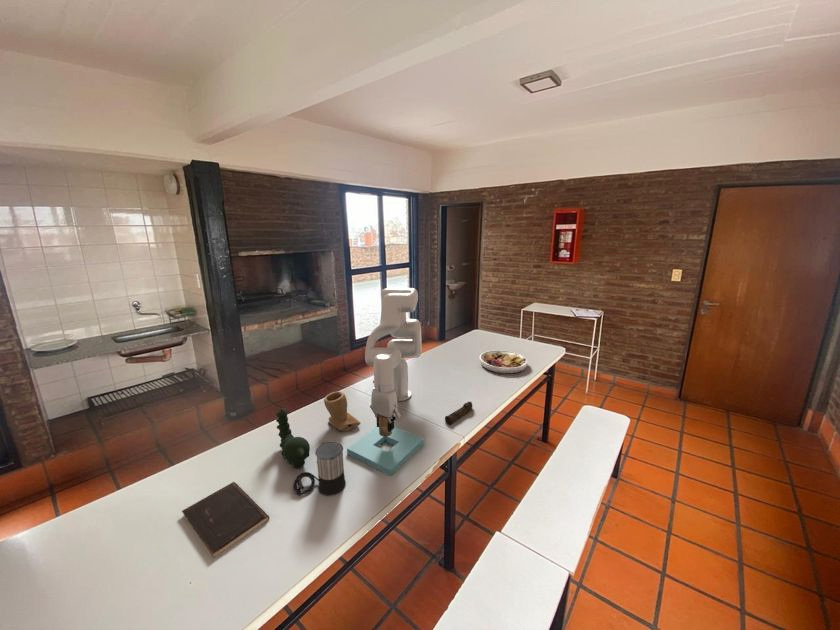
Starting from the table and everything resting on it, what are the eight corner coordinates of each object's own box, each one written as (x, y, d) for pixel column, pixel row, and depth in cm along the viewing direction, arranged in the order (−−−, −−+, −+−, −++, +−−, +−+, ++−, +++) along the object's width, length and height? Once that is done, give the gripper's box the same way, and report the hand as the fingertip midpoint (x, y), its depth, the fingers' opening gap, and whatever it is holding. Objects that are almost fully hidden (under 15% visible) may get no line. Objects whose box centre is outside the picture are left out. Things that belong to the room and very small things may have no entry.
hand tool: (450, 426, 150) (451, 417, 149) (444, 422, 153) (444, 413, 152) (476, 411, 163) (476, 402, 162) (470, 407, 166) (470, 399, 165)
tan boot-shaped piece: (321, 422, 154) (319, 392, 150) (345, 413, 161) (343, 384, 157) (337, 437, 142) (334, 406, 138) (361, 427, 150) (359, 397, 146)
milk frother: (351, 486, 115) (348, 449, 112) (307, 512, 105) (303, 473, 101) (330, 465, 126) (327, 431, 122) (289, 487, 115) (284, 450, 111)
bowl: (490, 353, 236) (491, 343, 234) (533, 363, 219) (534, 352, 217) (471, 367, 213) (471, 356, 211) (517, 380, 196) (517, 367, 194)
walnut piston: (376, 433, 132) (376, 415, 130) (384, 427, 136) (384, 410, 134) (386, 438, 129) (385, 419, 127) (394, 431, 133) (393, 413, 131)
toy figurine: (273, 450, 137) (292, 481, 117) (267, 408, 133) (285, 432, 113) (296, 442, 142) (318, 470, 122) (291, 400, 139) (312, 422, 119)
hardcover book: (213, 560, 91) (212, 553, 90) (183, 516, 104) (181, 510, 104) (269, 520, 103) (269, 514, 102) (235, 486, 116) (235, 480, 116)
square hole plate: (347, 453, 132) (346, 448, 131) (382, 426, 150) (382, 421, 149) (390, 475, 120) (390, 470, 120) (423, 443, 138) (423, 438, 137)
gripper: (361, 384, 129) (363, 425, 134) (395, 395, 120) (396, 439, 125) (373, 377, 135) (375, 417, 140) (407, 387, 126) (408, 430, 131)
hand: (385, 427), depth 132 cm, fingers closed on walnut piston, 5 cm apart
